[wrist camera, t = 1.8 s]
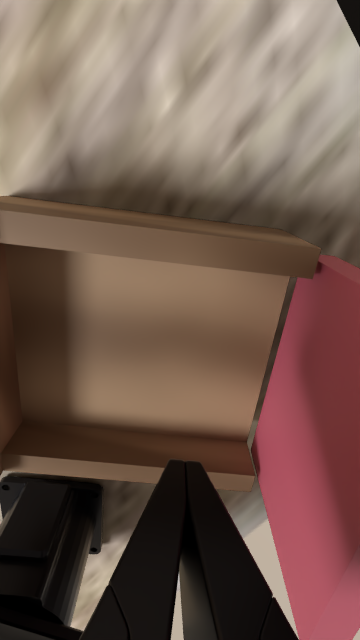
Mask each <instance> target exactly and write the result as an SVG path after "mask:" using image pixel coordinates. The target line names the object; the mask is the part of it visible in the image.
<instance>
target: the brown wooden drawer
mask: <svg viewBox="0 0 360 640" xmlns="http://www.w3.org/2000/svg"><path fill="white" fill-rule="evenodd" d="M320 252H321V248H319V247H317V246H315V245H313V244H311V243H308V242H306V241H304V240H302V239H300V238H298V237H296V236H294V235H292V234H290V233H287V232H285V231H283V230H281V229H274V228H266V227H258V226H249V225H241V224H233V223H225V222H217V221H209V220H200V219H192V218H184V217H176V216H168V215H160V214H151V213H143V212H135V211H127V210H119V209H111V208H102V207H94V206H86V205H78V204H70V203H61V202H53V201H45V200H37V199H29V198H21V197H12V196H0V475H1V474H2V472H3V470H4V471H15V472H27V473H38V474H50V475H61V476H73V477H84V478H95V479H107V480H118V481H130V482H141V483H153V484H157V483H158V481H159V479H160V477H161V475H162V473H163V471H164V469H165V466H166V464H167V462H168V461H169V459H182V460H184V462H185V461H186V460H193V461H200V462H201V463H202V465H203V467H204V469H205V471H206V472H207V474H208V476H209V478H210V480H211V482H212V483H213V485H214V487H215V489H222V490H233V491H244V492H251V489H252V486H253V482H254V479H255V473H254V469H253V465H252V461H251V457H250V453H249V449H248V445H247V439H248V436H249V432H250V428H251V424H252V420H253V416H254V413H255V409H256V405H257V401H258V397H259V393H260V390H261V386H262V382H263V378H264V374H265V370H266V367H267V363H268V359H269V355H270V351H271V348H272V344H273V340H274V336H275V332H276V328H277V325H278V321H279V317H280V313H281V309H282V305H283V302H284V298H285V294H286V290H287V286H288V282H289V279H290V277H298V278H306V279H313V276H314V273H315V270H316V266H317V263H318V259H319V256H320Z"/></svg>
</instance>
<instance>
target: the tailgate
mask: <svg viewBox="0 0 360 640" xmlns="http://www.w3.org/2000/svg"><path fill="white" fill-rule="evenodd" d="M251 453H252V457H253V461H254V465H255V469H256V473H257V477H258V481H259V484H260V488H261V492H262V496H263V500H264V504H265V508H266V512H267V516H268V519H269V523H270V527H271V531H272V535H273V539H274V543H275V547H276V550H277V554H278V558H279V562H280V566H281V569H282V574H283V578H284V582H285V585H286V589H287V593H288V597H289V601H290V605H291V609H292V613H293V617H294V621H295V624H296V628H297V632H298V636H299V640H352V639H353V637H354V636H355V634H356V633H357V631H358V630H359V628H360V268H358V267H356V266H354V265H352V264H350V263H348V262H345V261H343V260H341V259H339V258H337V257H335V256H327V255H320V256H319V259H318V263H317V266H316V270H315V273H314V276H313V279H306V278H297V281H296V285H295V289H294V292H293V296H292V300H291V303H290V307H289V311H288V314H287V318H286V322H285V325H284V329H283V333H282V337H281V340H280V344H279V348H278V351H277V355H276V359H275V362H274V366H273V370H272V373H271V377H270V381H269V384H268V388H267V392H266V396H265V399H264V403H263V407H262V410H261V414H260V418H259V421H258V425H257V429H256V432H255V436H254V440H253V444H252V447H251Z"/></svg>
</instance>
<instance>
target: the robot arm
mask: <svg viewBox="0 0 360 640" xmlns="http://www.w3.org/2000/svg"><path fill="white" fill-rule="evenodd" d="M103 499H104V489H103V487H102V486H100V485H98V484H89V483H78V482H66V481H55V480H43V479H31V478H20V477H3V478H2V479H1V481H0V504H1V511H2V517H3V521H2V523H1V525H0V640H171V632H172V624H173V623H172V622H173V615H174V606H175V599H176V590H177V582H178V574H179V575H180V590H181V604H182V620H183V635H184V640H299V639H298V638H297V636H296V634H295V633H294V631H293V629H292V627H291V626H290V624H289V622H288V620H287V619H286V617H285V615H284V613H283V611H282V609H281V608H280V606H279V604H278V602H277V600H276V598H274V597H273V598H272V596H273V594H272V591H271V590H270V588H269V586H268V584H267V582H266V580H265V579H264V577H263V575H262V573H261V571H260V569H259V568H258V566H257V564H256V562H255V560H254V558H253V556H252V555H251V553H250V551H249V549H248V547H247V546H246V544H245V542H244V540H243V538H242V536H241V535H240V533H239V531H238V529H237V527H236V525H235V524H234V522H233V520H232V518H231V516H230V514H229V513H228V511H227V509H226V507H225V505H224V503H223V502H222V500H221V498H220V496H219V494H218V492H217V491H216V489H215V487H214V485H213V483H212V482H211V480H210V478H209V476H208V474H207V472H206V471H205V469H204V467H203V465H202V463H201V462H200V461H193V460H186V461H185V462H184V460H182V459H169V461H168V462H167V464H166V466H165V469H164V471H163V473H162V475H161V477H160V479H159V481H158V483H157V485H156V487H155V489H154V491H153V493H152V495H151V497H150V499H149V501H148V503H147V505H146V507H145V509H144V511H143V513H142V515H141V518H140V520H139V522H138V524H137V526H136V528H135V530H134V532H133V534H132V536H131V538H130V540H129V542H128V544H127V546H126V548H125V550H124V552H123V554H122V556H121V558H120V560H119V562H118V564H117V567H116V569H115V571H114V573H113V575H112V577H111V579H110V581H109V585H108V586H107V587H106V589H105V591H104V593H103V595H102V597H101V599H100V601H99V603H98V605H97V607H96V609H95V611H94V612H93V614H92V616H91V618H90V620H89V622H88V624H87V626H86V628H85V630H84V631H81V630H78V629H75V628H72V627H70V626H71V622H72V618H73V614H74V610H75V606H76V602H77V598H78V594H79V590H80V586H81V582H82V578H83V574H84V570H85V566H86V562H87V558H88V554H98V553H100V551H101V547H102V532H103Z"/></svg>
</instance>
